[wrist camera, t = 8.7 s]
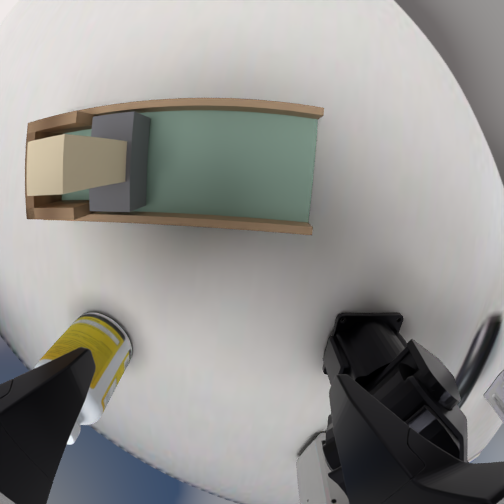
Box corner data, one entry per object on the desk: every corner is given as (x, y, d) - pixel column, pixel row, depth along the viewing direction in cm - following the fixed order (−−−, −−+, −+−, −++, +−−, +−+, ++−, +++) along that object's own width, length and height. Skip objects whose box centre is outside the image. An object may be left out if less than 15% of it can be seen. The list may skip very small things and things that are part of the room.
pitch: (314, 115, 17) (323, 107, 14) (304, 226, 19) (311, 235, 17) (63, 120, 16) (45, 118, 14) (61, 213, 19) (43, 219, 16)
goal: (103, 117, 16) (77, 110, 12) (100, 210, 18) (74, 220, 14) (55, 125, 16) (28, 123, 12) (54, 210, 18) (26, 218, 14)
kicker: (150, 118, 16) (75, 89, 7) (146, 205, 17) (70, 239, 9) (112, 121, 15) (28, 104, 7) (109, 204, 17) (26, 235, 9)
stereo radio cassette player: (292, 457, 29) (304, 580, 10) (312, 426, 26) (337, 576, 7) (411, 444, 30) (446, 533, 11) (438, 413, 27) (487, 508, 8)
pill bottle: (75, 301, 21) (0, 375, 10) (133, 320, 22) (71, 417, 11) (83, 353, 23) (29, 427, 12) (136, 371, 24) (94, 462, 13)
